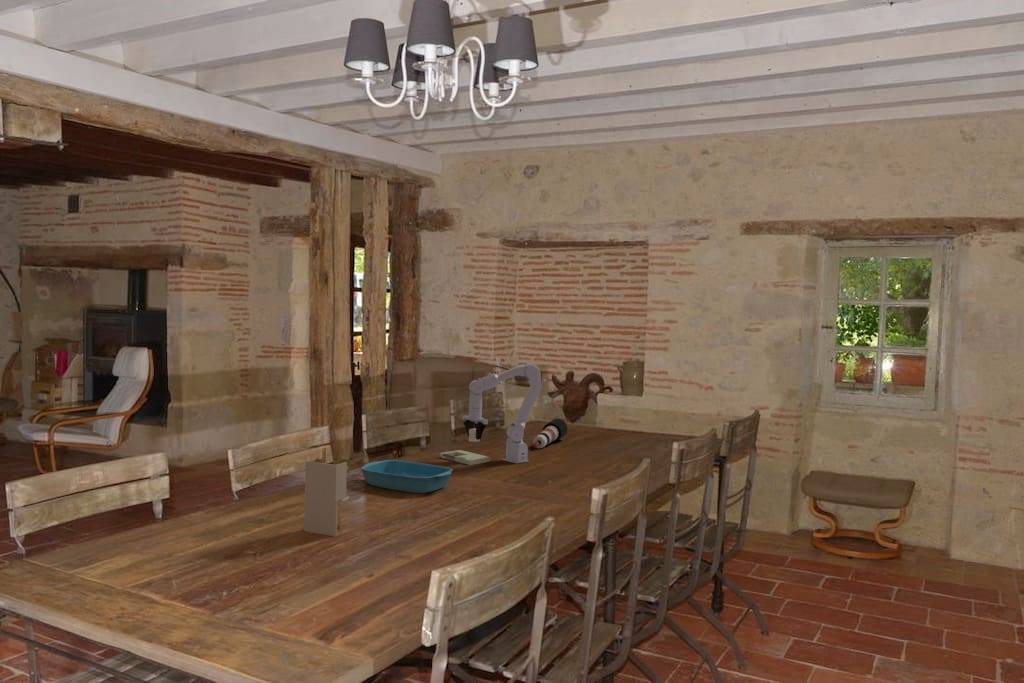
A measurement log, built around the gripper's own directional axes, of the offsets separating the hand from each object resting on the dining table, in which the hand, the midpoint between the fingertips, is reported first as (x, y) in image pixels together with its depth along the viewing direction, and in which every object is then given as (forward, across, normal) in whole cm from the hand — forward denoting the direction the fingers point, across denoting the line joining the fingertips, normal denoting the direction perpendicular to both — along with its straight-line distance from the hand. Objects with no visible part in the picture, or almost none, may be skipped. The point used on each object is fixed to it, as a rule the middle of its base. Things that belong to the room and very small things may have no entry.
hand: (474, 438), depth 357 cm
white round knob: (+1, 0, 0) cm, 1 cm away
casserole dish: (+11, +18, -52) cm, 56 cm away
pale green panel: (+10, -4, -1) cm, 11 cm away
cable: (+10, -8, +56) cm, 58 cm away
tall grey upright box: (+11, +50, -108) cm, 119 cm away
